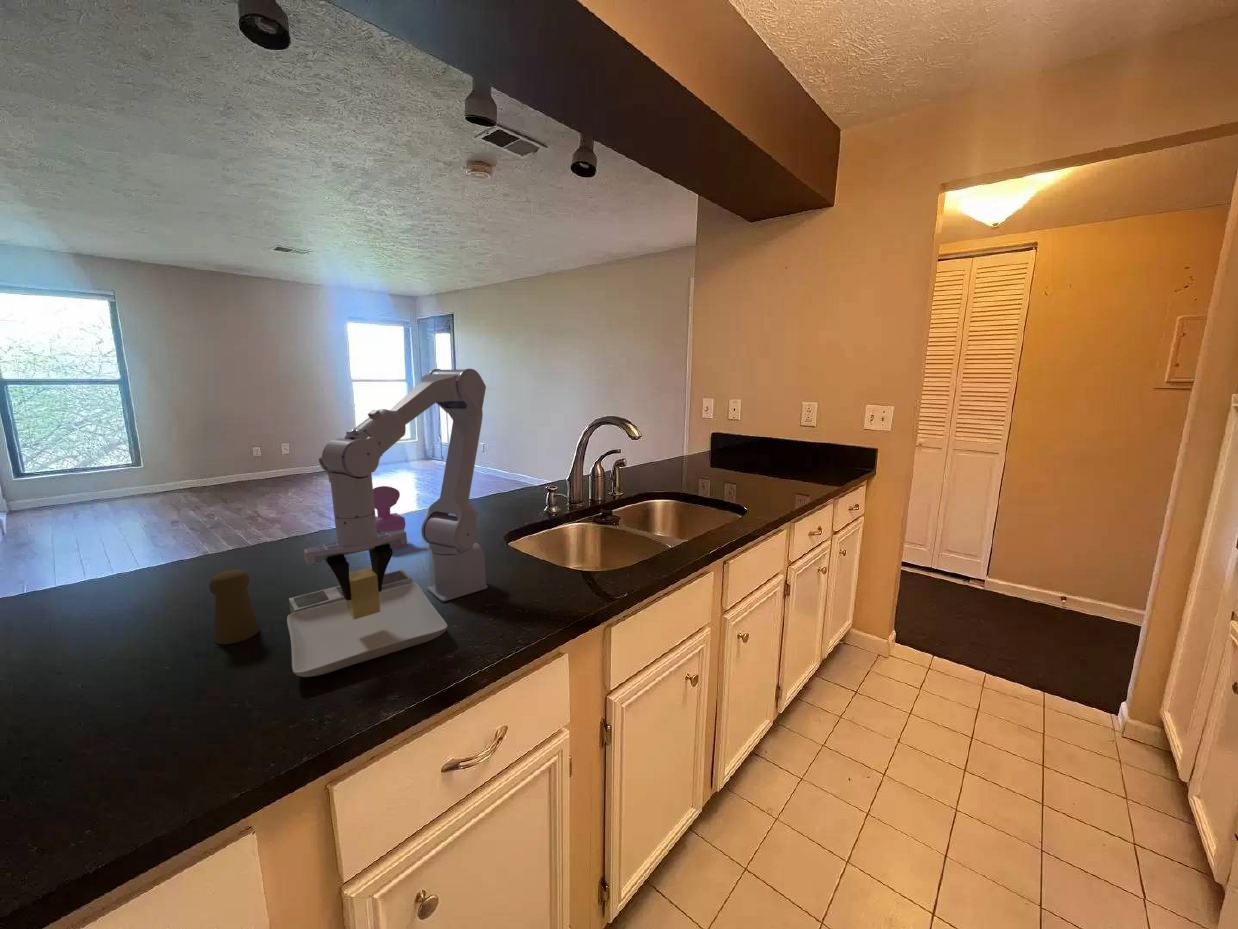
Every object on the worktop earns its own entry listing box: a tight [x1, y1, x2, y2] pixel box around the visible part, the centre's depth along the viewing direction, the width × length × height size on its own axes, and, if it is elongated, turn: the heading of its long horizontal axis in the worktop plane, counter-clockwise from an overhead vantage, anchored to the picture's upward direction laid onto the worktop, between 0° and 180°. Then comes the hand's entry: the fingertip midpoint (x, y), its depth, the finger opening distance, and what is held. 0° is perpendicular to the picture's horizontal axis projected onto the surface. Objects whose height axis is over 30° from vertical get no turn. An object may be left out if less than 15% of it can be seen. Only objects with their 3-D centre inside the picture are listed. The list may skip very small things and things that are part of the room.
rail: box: [288, 569, 413, 614], centre depth 93 cm, size 20×6×2 cm, turn 132°
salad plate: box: [286, 582, 448, 678], centre depth 80 cm, size 21×21×3 cm
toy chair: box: [373, 485, 408, 550], centre depth 123 cm, size 8×9×15 cm
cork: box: [208, 569, 261, 645], centre depth 80 cm, size 6×6×11 cm
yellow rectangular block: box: [346, 567, 380, 620], centre depth 80 cm, size 4×4×6 cm
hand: (363, 594), depth 79 cm, fingers closed on yellow rectangular block, 4 cm apart
